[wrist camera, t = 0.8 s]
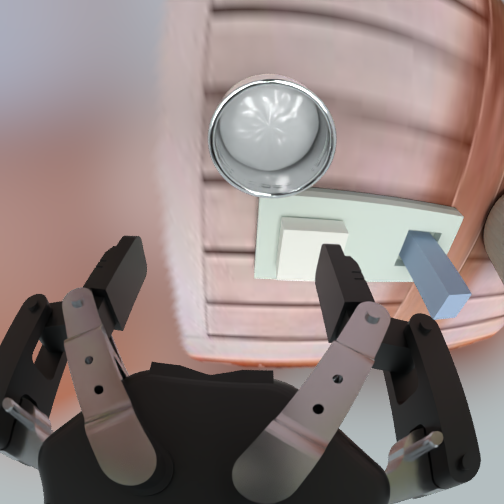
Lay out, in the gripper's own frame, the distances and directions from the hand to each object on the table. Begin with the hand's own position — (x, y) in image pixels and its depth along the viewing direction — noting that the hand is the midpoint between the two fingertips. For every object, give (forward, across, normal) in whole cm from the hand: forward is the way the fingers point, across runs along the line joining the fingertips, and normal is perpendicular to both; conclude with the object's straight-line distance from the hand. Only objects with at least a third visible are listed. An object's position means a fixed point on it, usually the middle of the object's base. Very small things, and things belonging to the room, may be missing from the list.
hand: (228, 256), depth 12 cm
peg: (+19, -24, +10) cm, 32 cm away
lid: (+17, -8, +10) cm, 21 cm away
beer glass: (+19, -2, -5) cm, 20 cm away
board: (+20, -16, +10) cm, 27 cm away
